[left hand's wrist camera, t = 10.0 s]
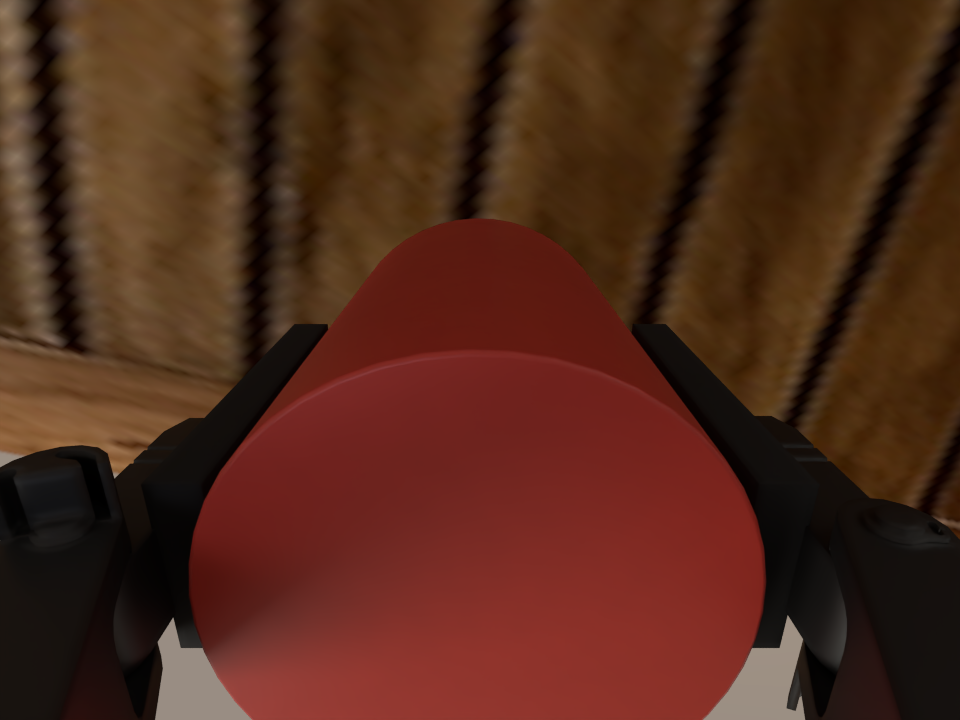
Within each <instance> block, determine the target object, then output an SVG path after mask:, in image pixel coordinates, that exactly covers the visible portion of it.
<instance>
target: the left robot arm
mask: <svg viewBox="0 0 960 720" xmlns="http://www.w3.org/2000/svg"><path fill="white" fill-rule="evenodd" d="M327 331H328V324H294V325H293V326H292V327H291V328H290V329H289V331H288V332H287V333H286V334H285V335H284V336H283V337H282V338H281V339H280V340H279V341H278V342H277V343H276V344H275V345H274V346H273V347H272V348H271V349H270V350H269V351H268V352H267V353H266V354H265V356H264V357H263V358H262V359H261V360H260V361H259V362H258V363H257V364H256V365H255V366H254V367H253V368H252V369H251V370H250V371H249V372H248V373H247V374H246V375H245V376H244V377H243V378H242V379H241V380H240V382H239V383H238V384H237V385H236V386H235V387H234V388H233V389H232V390H231V391H230V392H229V393H228V394H227V395H226V396H225V397H224V398H223V399H222V400H221V401H220V402H219V403H218V404H217V405H216V407H215V408H214V409H213V410H212V411H211V412H210V413H209V414H208V415H207V416H206V417H205V418H189V419H187V420H185V421H183V422H181V423H179V424H177V425H175V426H174V427H172V428H170V429H168V430H166V431H164V432H163V433H162V434H161V435H160V436H159V437H158V438H157V439H156V440H155V441H154V442H153V443H152V444H150V445H149V446H148V450H144V451H143V452H142V453H141V454H140V455H139V456H138V457H137V458H136V459H135V460H134V464H129V465H128V466H127V467H126V468H125V469H124V470H123V471H122V472H121V473H120V474H119V475H118V476H117V477H116V478H115V479H114V476H113V472H112V468H111V464H110V461H109V457H108V453H106V452H105V451H103V450H101V449H100V448H98V447H91V446H83V445H79V446H66V447H58V448H53V449H49V450H44V451H40V452H36V453H33V454H30V455H27V456H24V457H22V458H19V459H16V460H14V461H11V462H9V463H8V464H6V465H4V466H2V467H0V720H155V716H156V709H157V703H158V696H159V689H160V683H161V676H162V670H163V667H162V659H161V654H160V650H159V646H158V640H159V639H160V637H161V635H162V634H163V632H164V631H165V629H166V628H167V626H168V625H169V623H170V621H171V620H172V618H174V622H175V626H176V630H177V634H178V638H179V642H180V646H181V648H203V647H202V644H201V642H200V639H199V636H198V633H197V630H196V627H195V625H194V619H193V614H192V608H191V603H190V597H189V558H190V552H191V545H192V539H193V533H194V529H195V526H196V523H197V520H198V517H199V514H200V511H201V508H202V505H203V503H204V500H205V498H206V496H207V495H208V493H209V491H210V489H211V487H212V485H213V483H214V482H215V480H216V478H217V476H218V474H219V472H220V471H221V469H222V468H223V467H224V465H225V464H226V463H227V462H228V460H229V459H230V458H231V456H232V455H233V454H234V452H235V451H236V450H237V448H238V447H239V446H240V445H241V443H242V442H243V441H244V439H245V438H246V437H247V435H248V434H249V433H250V431H251V430H252V429H253V428H254V426H255V425H256V424H257V422H258V421H259V420H260V418H261V417H262V416H263V414H264V413H265V412H266V411H267V409H268V408H269V407H270V405H271V404H272V403H273V401H274V400H275V399H276V397H277V396H278V395H279V394H280V392H281V391H282V390H283V388H284V387H285V386H286V384H287V383H288V382H289V380H290V379H291V378H292V377H293V375H294V374H295V373H296V371H297V370H298V369H299V367H300V366H301V365H302V363H303V362H304V361H305V359H306V358H307V357H308V356H309V354H310V353H311V352H312V350H313V349H314V348H315V346H316V345H317V344H318V342H319V341H320V340H321V339H322V337H323V336H324V335H325V333H326V332H327ZM632 335H633V336H634V338H635V339H636V340H637V342H638V343H639V344H640V346H641V347H642V348H643V350H644V351H645V352H646V354H647V355H648V356H649V358H650V359H651V360H652V362H653V363H654V364H655V366H656V367H657V368H658V370H659V371H660V372H661V374H662V375H663V376H664V378H665V379H666V380H667V382H668V383H669V384H670V386H671V387H672V388H673V390H674V391H675V392H676V394H677V395H678V396H679V398H680V399H681V400H682V402H683V403H684V404H685V406H686V407H687V408H688V410H689V411H690V412H691V414H692V415H693V416H694V418H695V419H696V420H697V422H698V423H699V424H700V426H701V427H702V428H703V430H704V431H705V432H706V434H707V435H708V436H709V438H710V439H711V440H712V442H713V443H714V444H715V446H716V447H717V448H718V450H719V451H720V452H721V454H722V455H723V456H724V458H725V459H726V461H727V462H728V464H729V465H730V467H731V468H732V470H733V472H734V473H735V475H736V476H737V478H738V479H739V481H740V483H741V484H742V486H743V487H744V489H745V492H746V494H747V496H748V499H749V501H750V503H751V506H752V508H753V510H754V513H755V515H756V517H757V521H758V525H759V529H760V533H761V537H762V542H763V546H764V554H765V569H766V590H765V599H764V609H763V614H762V618H761V622H760V625H759V629H758V633H757V636H756V640H755V642H754V644H753V647H752V648H780V644H781V640H782V636H783V632H784V627H785V623H786V619H787V615H788V616H789V617H790V619H791V621H792V622H793V624H794V625H795V627H796V628H797V630H798V632H799V633H800V635H801V636H802V638H803V642H802V646H801V650H800V654H799V658H798V661H797V665H796V669H795V673H794V676H793V680H792V684H791V688H790V692H789V696H788V703H787V708H788V709H791V710H796V707H797V704H798V700H799V697H800V696H802V701H803V707H804V714H805V720H960V540H959V538H958V537H957V536H956V535H955V534H954V533H953V532H952V531H951V530H950V529H949V528H948V527H947V526H946V525H944V524H942V523H941V522H939V521H938V520H936V519H935V518H933V517H932V516H930V515H928V514H926V513H923V512H921V511H919V510H916V509H914V508H912V507H909V506H907V505H903V504H899V503H895V502H892V501H888V500H884V499H872V498H869V497H868V496H867V495H866V494H865V493H864V492H863V491H862V490H861V489H859V488H858V487H857V486H856V485H855V484H854V483H853V482H852V481H851V480H850V479H849V478H848V477H847V476H846V475H845V474H844V473H842V472H841V471H840V470H839V469H838V468H837V467H836V466H835V465H834V464H833V463H832V462H831V461H827V457H826V456H824V455H823V454H822V453H821V452H820V451H819V450H818V449H817V448H813V444H812V443H811V442H810V441H809V440H807V439H806V438H805V437H804V436H803V435H802V434H801V433H800V432H799V431H798V430H797V429H795V428H793V427H791V426H789V425H787V424H785V423H784V422H782V421H780V420H778V419H776V418H774V417H772V416H754V415H753V414H752V413H751V412H750V411H749V410H748V409H747V408H746V407H745V406H744V405H743V404H742V403H741V402H740V401H739V400H738V399H737V398H736V397H735V396H734V395H733V394H732V393H731V391H730V390H729V389H728V388H727V387H726V386H725V385H724V384H723V383H722V382H721V381H720V380H719V379H718V378H717V377H716V376H715V375H714V374H713V373H712V372H711V371H710V370H709V369H708V368H707V367H706V365H705V364H704V363H703V362H702V361H701V360H700V359H699V358H698V357H697V356H696V355H695V354H694V353H693V352H692V351H691V350H690V349H689V348H688V347H687V346H686V345H685V344H684V343H683V342H682V341H681V339H680V338H679V337H678V336H677V335H676V334H675V333H674V332H673V331H672V330H671V329H670V328H669V327H668V326H667V325H666V324H633V328H632Z"/></svg>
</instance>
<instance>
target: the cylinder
mask: <svg viewBox="0 0 960 720" xmlns="http://www.w3.org/2000/svg"><path fill="white" fill-rule="evenodd" d="M765 590H766V569H765V554H764V546H763V542H762V537H761V533H760V529H759V525H758V521H757V517H756V515H755V513H754V510H753V508H752V506H751V503H750V501H749V499H748V496H747V494H746V492H745V489H744V487H743V486H742V484H741V483H740V481H739V479H738V478H737V476H736V475H735V473H734V472H733V470H732V468H731V467H730V465H729V464H728V462H727V461H726V459H725V458H724V456H723V455H722V454H721V452H720V451H719V450H718V448H717V447H716V446H715V444H714V443H713V442H712V440H711V439H710V438H709V436H708V435H707V434H706V432H705V431H704V430H703V428H702V427H701V426H700V424H699V423H698V422H697V420H696V419H695V418H694V416H693V415H692V414H691V412H690V411H689V410H688V408H687V407H686V406H685V404H684V403H683V402H682V400H681V399H680V398H679V396H678V395H677V394H676V392H675V391H674V390H673V388H672V387H671V386H670V384H669V383H668V382H667V380H666V379H665V378H664V376H663V375H662V374H661V372H660V371H659V370H658V368H657V367H656V366H655V364H654V363H653V362H652V360H651V359H650V358H649V356H648V355H647V354H646V352H645V351H644V350H643V348H642V347H641V346H640V344H639V343H638V342H637V340H636V339H635V338H634V336H633V335H632V334H631V332H630V331H629V330H628V328H627V327H626V326H625V324H624V323H623V322H622V320H621V319H620V317H619V316H618V315H617V313H616V312H615V311H614V309H613V308H612V307H611V305H610V304H609V303H608V301H607V300H606V299H605V297H604V296H603V295H602V293H601V292H600V291H599V289H598V288H597V287H596V285H595V284H594V283H593V281H592V280H591V279H590V277H589V276H588V275H587V273H586V272H585V271H584V269H583V268H582V267H581V266H580V265H579V264H578V263H577V261H576V260H575V259H574V258H573V257H572V256H571V255H570V254H569V253H568V252H567V251H565V250H564V249H563V248H562V247H561V246H560V245H558V244H557V243H555V242H554V241H552V240H551V239H549V238H548V237H546V236H544V235H542V234H540V233H538V232H536V231H534V230H532V229H530V228H527V227H524V226H521V225H518V224H515V223H512V222H506V221H501V220H495V219H464V220H456V221H451V222H447V223H443V224H439V225H436V226H433V227H431V228H428V229H426V230H423V231H421V232H419V233H417V234H415V235H414V236H412V237H410V238H408V239H406V240H405V241H404V242H402V243H401V244H400V245H398V246H397V247H396V248H394V249H393V250H392V251H391V252H390V253H389V254H388V255H387V256H386V257H385V258H384V259H383V260H382V261H381V262H380V263H379V264H378V265H377V267H376V268H375V269H374V271H373V272H372V273H371V274H370V276H369V277H368V278H367V280H366V281H365V282H364V284H363V285H362V286H361V288H360V289H359V290H358V291H357V293H356V294H355V295H354V297H353V298H352V299H351V301H350V302H349V303H348V305H347V306H346V307H345V308H344V310H343V311H342V312H341V314H340V315H339V316H338V318H337V319H336V320H335V322H334V323H333V324H332V325H331V327H330V328H329V329H328V331H327V332H326V333H325V335H324V336H323V337H322V339H321V340H320V341H319V342H318V344H317V345H316V346H315V348H314V349H313V350H312V352H311V353H310V354H309V356H308V357H307V358H306V359H305V361H304V362H303V363H302V365H301V366H300V367H299V369H298V370H297V371H296V373H295V374H294V375H293V377H292V378H291V379H290V380H289V382H288V383H287V384H286V386H285V387H284V388H283V390H282V391H281V392H280V394H279V395H278V396H277V397H276V399H275V400H274V401H273V403H272V404H271V405H270V407H269V408H268V409H267V411H266V412H265V413H264V414H263V416H262V417H261V418H260V420H259V421H258V422H257V424H256V425H255V426H254V428H253V429H252V430H251V431H250V433H249V434H248V435H247V437H246V438H245V439H244V441H243V442H242V443H241V445H240V446H239V447H238V448H237V450H236V451H235V452H234V454H233V455H232V456H231V458H230V459H229V460H228V462H227V463H226V464H225V465H224V467H223V468H222V469H221V471H220V472H219V474H218V476H217V478H216V480H215V482H214V483H213V485H212V487H211V489H210V491H209V493H208V495H207V496H206V498H205V500H204V503H203V505H202V508H201V511H200V514H199V517H198V520H197V523H196V526H195V529H194V533H193V539H192V545H191V552H190V558H189V597H190V603H191V608H192V614H193V619H194V625H195V627H196V630H197V633H198V636H199V639H200V642H201V644H202V647H203V650H204V653H205V654H206V656H207V658H208V660H209V662H210V664H211V666H212V668H213V669H214V671H215V673H216V675H217V677H218V679H219V680H220V681H221V683H222V684H223V685H224V687H225V688H226V690H227V691H228V692H229V694H230V695H231V696H232V698H233V699H234V701H235V702H236V703H237V704H238V705H239V706H240V707H241V708H242V709H243V710H244V711H245V713H246V714H247V715H248V716H249V717H250V718H251V719H252V720H703V719H704V718H705V717H706V716H707V715H708V714H709V713H710V712H711V711H712V710H713V708H714V707H715V706H716V705H717V704H718V703H719V701H720V700H721V699H722V698H723V697H724V695H725V694H726V693H727V692H728V690H729V689H730V687H731V686H732V684H733V682H734V681H735V679H736V678H737V676H738V675H739V673H740V671H741V670H742V668H743V667H744V664H745V662H746V660H747V658H748V655H749V653H750V651H751V649H752V647H753V644H754V642H755V640H756V636H757V633H758V629H759V625H760V622H761V618H762V614H763V609H764V599H765Z"/></svg>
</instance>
